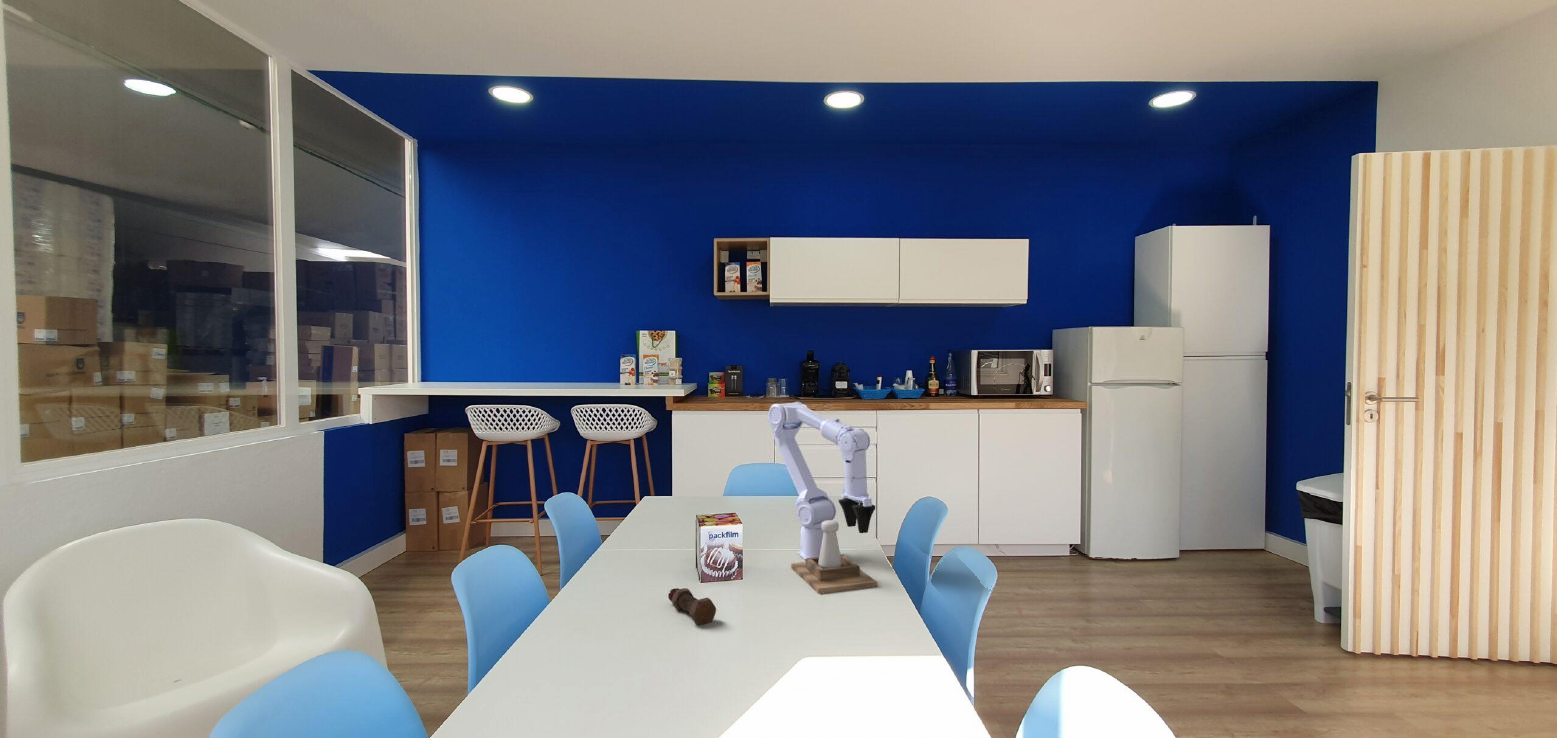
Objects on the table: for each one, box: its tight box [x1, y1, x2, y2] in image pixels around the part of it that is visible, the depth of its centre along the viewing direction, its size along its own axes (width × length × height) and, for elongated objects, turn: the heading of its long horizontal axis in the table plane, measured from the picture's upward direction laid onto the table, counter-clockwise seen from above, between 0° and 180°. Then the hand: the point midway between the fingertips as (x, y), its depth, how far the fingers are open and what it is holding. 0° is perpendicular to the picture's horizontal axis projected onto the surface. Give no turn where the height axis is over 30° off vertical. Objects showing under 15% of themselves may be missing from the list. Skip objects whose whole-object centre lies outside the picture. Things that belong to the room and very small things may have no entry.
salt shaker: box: [818, 519, 842, 569], centre depth 171 cm, size 6×6×13 cm
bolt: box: [667, 587, 717, 626], centre depth 149 cm, size 6×5×15 cm
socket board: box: [790, 553, 878, 595], centre depth 172 cm, size 20×15×4 cm
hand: (857, 529), depth 177 cm, fingers open, 7 cm apart
